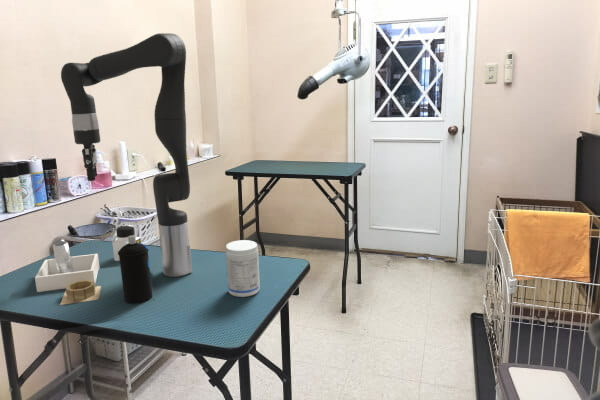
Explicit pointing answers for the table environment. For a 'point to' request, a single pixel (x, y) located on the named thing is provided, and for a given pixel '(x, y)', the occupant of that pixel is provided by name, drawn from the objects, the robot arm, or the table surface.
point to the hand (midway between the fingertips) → (92, 178)
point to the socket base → (81, 292)
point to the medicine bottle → (123, 239)
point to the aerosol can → (135, 272)
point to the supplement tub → (242, 268)
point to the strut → (62, 256)
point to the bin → (82, 270)
